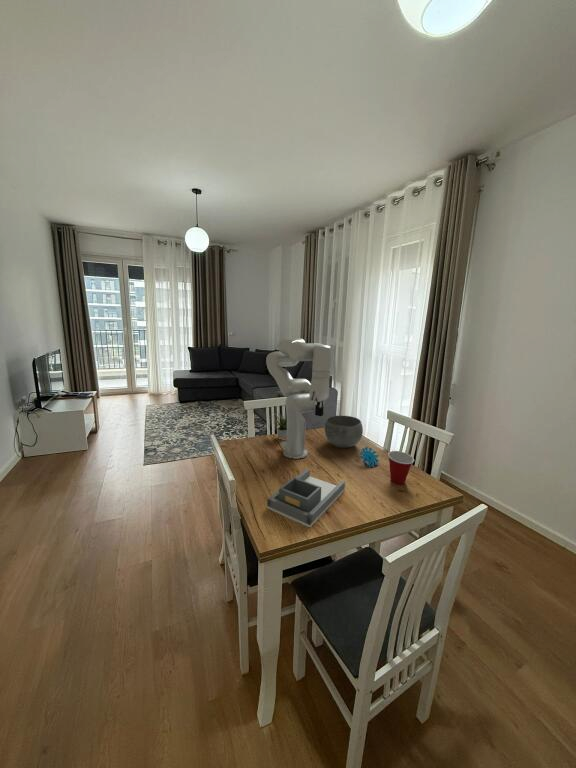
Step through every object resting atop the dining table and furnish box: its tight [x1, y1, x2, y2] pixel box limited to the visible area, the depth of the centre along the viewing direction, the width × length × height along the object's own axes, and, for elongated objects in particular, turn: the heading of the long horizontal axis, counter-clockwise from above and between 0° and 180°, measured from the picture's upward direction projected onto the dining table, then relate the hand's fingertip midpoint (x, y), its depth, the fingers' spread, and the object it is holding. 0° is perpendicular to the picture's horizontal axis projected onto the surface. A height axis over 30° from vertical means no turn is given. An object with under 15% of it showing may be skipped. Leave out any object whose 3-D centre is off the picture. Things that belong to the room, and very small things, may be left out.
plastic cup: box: [387, 450, 415, 485], centre depth 132 cm, size 11×11×12 cm
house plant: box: [271, 412, 287, 439], centre depth 176 cm, size 14×14×16 cm
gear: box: [360, 446, 380, 468], centre depth 150 cm, size 11×6×10 cm
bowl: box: [324, 415, 364, 449], centre depth 168 cm, size 20×20×15 cm
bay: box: [267, 468, 346, 528], centre depth 118 cm, size 18×28×4 cm, turn 146°
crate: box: [278, 476, 321, 513], centre depth 113 cm, size 12×10×7 cm
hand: (319, 415), depth 134 cm, fingers closed
